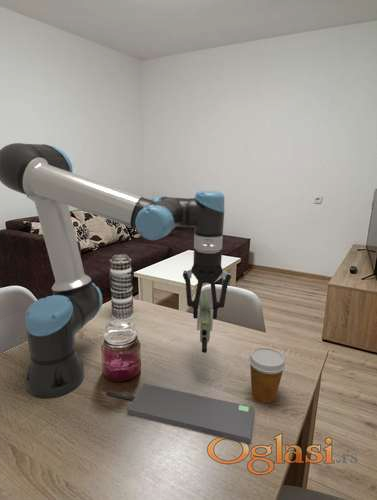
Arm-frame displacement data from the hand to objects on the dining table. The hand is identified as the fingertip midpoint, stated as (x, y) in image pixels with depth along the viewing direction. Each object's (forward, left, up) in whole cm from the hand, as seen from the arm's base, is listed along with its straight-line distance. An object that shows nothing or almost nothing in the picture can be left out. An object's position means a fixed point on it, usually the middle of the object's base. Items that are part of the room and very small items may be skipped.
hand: (204, 328), depth 94 cm
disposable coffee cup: (+18, -5, -15) cm, 24 cm away
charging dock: (-3, -17, -14) cm, 23 cm away
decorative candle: (-39, +25, -15) cm, 48 cm away
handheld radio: (0, 0, -1) cm, 1 cm away
